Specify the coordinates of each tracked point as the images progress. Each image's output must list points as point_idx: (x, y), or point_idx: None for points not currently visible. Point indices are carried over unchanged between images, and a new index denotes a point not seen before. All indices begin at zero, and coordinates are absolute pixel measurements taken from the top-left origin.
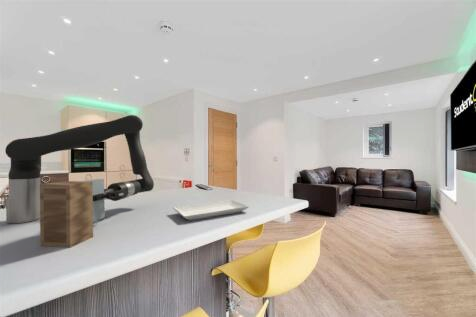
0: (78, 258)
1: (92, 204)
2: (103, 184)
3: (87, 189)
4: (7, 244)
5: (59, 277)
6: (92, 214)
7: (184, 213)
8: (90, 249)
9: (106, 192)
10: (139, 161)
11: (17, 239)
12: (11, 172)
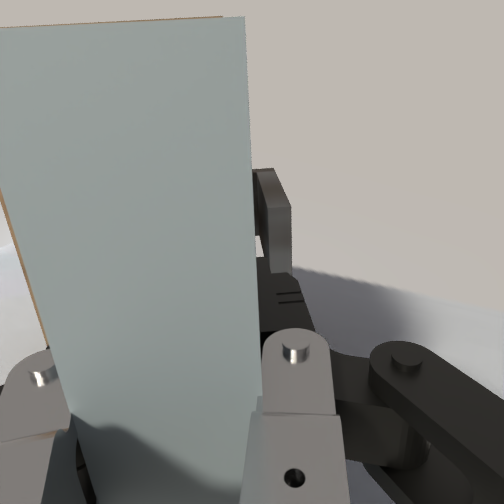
0: (15, 287)
1: (7, 220)
2: (19, 213)
3: None
4: (381, 289)
5: (13, 248)
6: (28, 284)
7: None
8: (4, 323)
9: (8, 426)
10: None
11: (422, 315)
12: None
